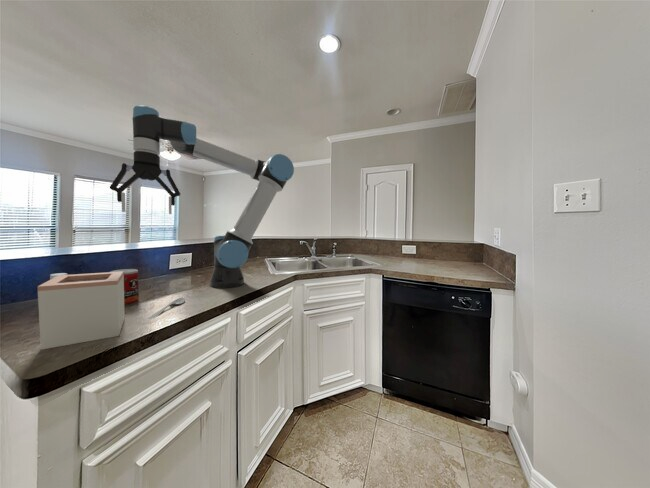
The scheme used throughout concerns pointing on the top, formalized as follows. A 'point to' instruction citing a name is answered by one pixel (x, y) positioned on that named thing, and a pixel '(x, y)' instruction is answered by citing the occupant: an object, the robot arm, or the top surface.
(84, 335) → the drop box
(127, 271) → the canned food
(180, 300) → the spoon
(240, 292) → the top surface
